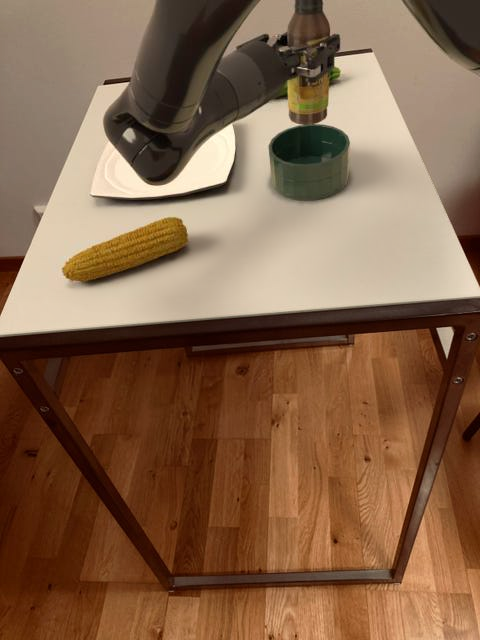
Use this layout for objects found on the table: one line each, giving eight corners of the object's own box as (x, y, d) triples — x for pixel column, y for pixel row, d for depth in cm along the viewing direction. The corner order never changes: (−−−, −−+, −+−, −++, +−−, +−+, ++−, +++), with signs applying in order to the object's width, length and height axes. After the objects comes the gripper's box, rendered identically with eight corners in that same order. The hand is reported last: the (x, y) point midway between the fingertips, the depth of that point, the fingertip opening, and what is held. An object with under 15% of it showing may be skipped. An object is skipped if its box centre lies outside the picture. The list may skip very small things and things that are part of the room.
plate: (238, 122, 113) (236, 111, 111) (234, 198, 94) (232, 185, 92) (114, 136, 116) (110, 125, 114) (86, 211, 97) (81, 200, 95)
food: (184, 234, 88) (176, 205, 84) (194, 252, 85) (187, 223, 80) (66, 276, 85) (52, 249, 80) (72, 297, 81) (57, 270, 77)
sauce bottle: (301, 132, 78) (296, -19, 63) (281, 116, 82) (273, -29, 67) (337, 119, 79) (340, -32, 64) (316, 105, 83) (315, -40, 69)
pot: (353, 159, 97) (355, 125, 92) (341, 203, 89) (342, 168, 84) (281, 156, 101) (279, 122, 96) (263, 197, 93) (259, 163, 88)
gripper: (283, 62, 60) (362, 15, 67) (197, 44, 67) (277, 3, 74) (286, 123, 65) (359, 73, 72) (207, 100, 72) (280, 56, 80)
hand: (317, 37), depth 73 cm, fingers closed on sauce bottle, 6 cm apart
